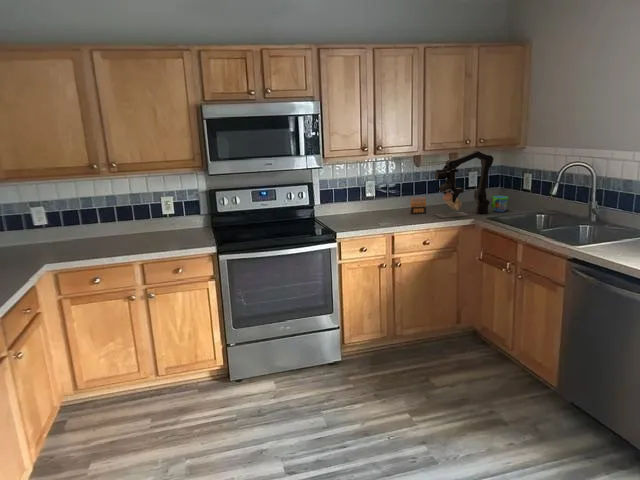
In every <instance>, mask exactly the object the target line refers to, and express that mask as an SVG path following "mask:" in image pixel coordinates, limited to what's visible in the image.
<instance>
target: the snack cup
mask: <svg viewBox="0 0 640 480" xmlns="http://www.w3.org/2000/svg"><path fill="white" fill-rule="evenodd" d="M491 199H492V201H491V208H493V211H494V212H497V213H503V212H506V209H507V206H508V205H509V196H506V195H493V196H492V197H491Z"/></svg>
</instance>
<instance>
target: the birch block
mask: <svg viewBox="0 0 640 480" xmlns="http://www.w3.org/2000/svg"><path fill="white" fill-rule="evenodd" d="M451 193H452V192H447V193H446V194H445V195H444V196H443V197H442V200H443V201H444V202H445V203H446V204H447V205H448V206H449V208H450V209H451V210H454V211H459V209H460V208H461V207H462V205H463V203H462V202H461V201H460V200H459V198H457V199H456V201H455V203H453V195H452V194H451Z"/></svg>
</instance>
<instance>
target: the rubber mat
mask: <svg viewBox="0 0 640 480" xmlns="http://www.w3.org/2000/svg"><path fill="white" fill-rule="evenodd" d="M434 216H436V217H437V218H439V219H448V218H449V219H450V218H459V217H462V218H463V217H469V216H470V214H469V213H466V212H463V211H459V212H458V211H456V212H447V213H446V212H445V213H444V212H443V213H435V214H434Z"/></svg>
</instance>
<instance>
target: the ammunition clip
mask: <svg viewBox="0 0 640 480" xmlns="http://www.w3.org/2000/svg"><path fill="white" fill-rule="evenodd" d="M426 201H427V200H426V197H425V196H424V197H423V196H421V197H420V196H419V197H411V201H410V215H426V214H427V202H426Z"/></svg>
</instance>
